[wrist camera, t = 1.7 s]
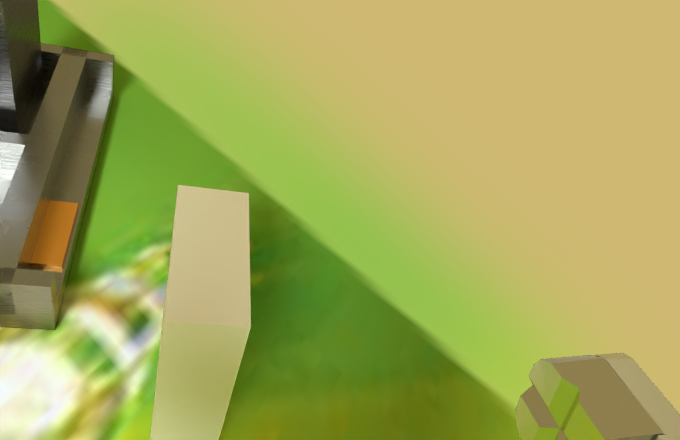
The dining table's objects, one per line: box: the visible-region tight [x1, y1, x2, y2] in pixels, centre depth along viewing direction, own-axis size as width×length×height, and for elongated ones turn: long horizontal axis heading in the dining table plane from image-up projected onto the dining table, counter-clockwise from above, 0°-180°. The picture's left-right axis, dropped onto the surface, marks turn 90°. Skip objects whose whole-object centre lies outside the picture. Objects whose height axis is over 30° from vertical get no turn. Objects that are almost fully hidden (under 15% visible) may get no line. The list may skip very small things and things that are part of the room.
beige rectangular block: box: [150, 185, 251, 440], centre depth 28 cm, size 3×7×12 cm, turn 7°
